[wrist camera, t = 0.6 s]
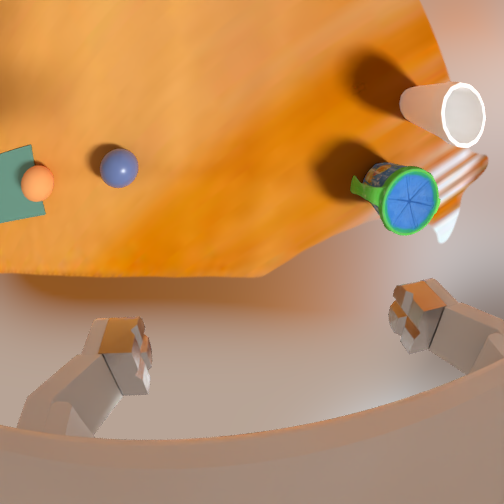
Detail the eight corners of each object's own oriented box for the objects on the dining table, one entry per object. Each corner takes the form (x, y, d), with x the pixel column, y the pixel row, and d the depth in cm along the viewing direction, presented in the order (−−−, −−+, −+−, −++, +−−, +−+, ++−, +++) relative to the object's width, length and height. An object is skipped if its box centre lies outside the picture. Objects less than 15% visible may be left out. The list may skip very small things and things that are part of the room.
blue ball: (103, 148, 43) (91, 156, 38) (139, 142, 43) (130, 149, 38) (109, 184, 45) (98, 195, 40) (143, 179, 46) (136, 190, 41)
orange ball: (28, 165, 41) (11, 174, 36) (55, 158, 42) (40, 167, 37) (35, 197, 44) (19, 209, 39) (62, 192, 44) (48, 204, 40)
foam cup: (386, 81, 43) (436, 85, 32) (429, 75, 43) (480, 80, 32) (397, 136, 48) (445, 153, 36) (437, 126, 48) (487, 142, 36)
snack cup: (331, 201, 52) (357, 226, 43) (350, 140, 47) (382, 153, 38) (403, 219, 56) (434, 243, 47) (422, 166, 51) (458, 184, 42)
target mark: (-20, 160, 39) (-21, 160, 38) (31, 144, 40) (30, 144, 40) (-5, 223, 44) (-5, 224, 44) (45, 214, 46) (45, 214, 45)
